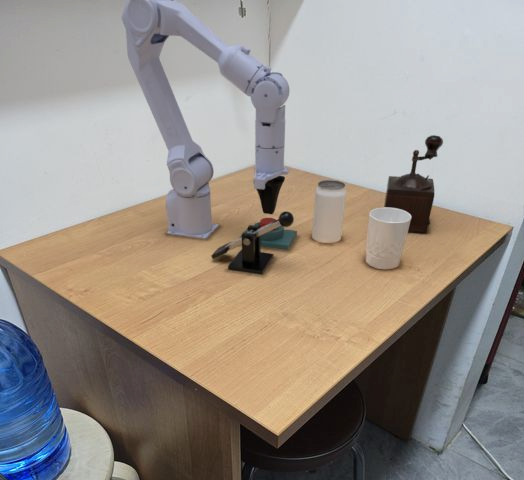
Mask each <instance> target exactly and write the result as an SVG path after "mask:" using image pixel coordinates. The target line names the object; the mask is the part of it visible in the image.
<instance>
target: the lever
mask: <svg viewBox="0 0 524 480" xmlns="http://www.w3.org/2000/svg"><path fill="white" fill-rule="evenodd" d="M294 220H295V217H294V215H293V214H292V213H291V212H290V211H282V212H281V213H280V214H279V215H278V219H276V221H274V222H272V223H270V224H268V225H266V226H263V227H261V228H259V229H257V230H255V231H254V230H249V231H248V233H252V234H255V239H256V238H257V237H259V236H261V235H263V234H265V233H267V232H269V231H271V230H273V229H275V228H277V227H279V226H281V225H282V226H283V227H284V228H289V227H291V226H292V225H293V223H294V222H295V221H294ZM240 246H242V237H241V238H240V237H238V238H237V239H234V240H232V241H229V242H227V243H225V244H223V245H221V246H219V247H217V249H216V250H215V251H214V252H213V253H212V254H211V255H210V256H211V258H212V260H215V259H216V258H219V257H221V256H223V255H225V254H227V253H228V252H230V251H231V250H233V249H236V248H238V247H240Z"/></svg>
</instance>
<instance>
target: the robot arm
mask: <svg viewBox="0 0 524 480" xmlns="http://www.w3.org/2000/svg"><path fill="white" fill-rule="evenodd" d="M121 21H122V24H123V26H124V28H125V35H126V36H125V39H126V51H127V57H128V62H129V63H130V66H131V68H132V70H133V73H134V75H135V77H136V79H137V82H138V84H139V87H140V88H141V90H142V93H143V96H144V98H145V100H146V103H147V104H148V107H149V109H150V112H151V114H152V117H153V119H154V121H155V123H156V125H157V126H156V127H158V130H159V133H160V135H161V137H162V139H163V141H164V144H165V146H166V148H167V151H168V152H167V157H166V158H167V159H166V166H167V169H168V172H169V182H170V185H171V188H172V189H170V190H169V191H168V193H167V194H166V199H165V210H166V211H165V212H166V219H167V228H168V229H167V231H166V234H168V235H174V236H180V237H187V238H194V239H195V238H196V239H202V240H206V239H208V238H209V237H210V236H211V235H212V233H214V232H215V231H216V229H217V228H219V223H214V222H213V219H212V218H213V217H212V199H211V197H212V196H211V187H210V182H211V180H212V179H213V177H214V172H215V171H214V166H213V163H212V162H211V160H210V159H209V158H208V157H207V156H206V155H205V153H204V151H203V149H202V147H201V146H200V144H198V143H196V142H195V141H194V140H193V138H192V135H191V133H190V130H189V128H188V126H187V123H186V121H185V118H184V116H183V114H182V111H181V109H180V106H179V104H178V101H177V99H176V97H175V94H174V91H173V89H172V87H171V84H170V82H169V79H168V77H167V74H166V72H165V69H164V67H163V65H162V62H161V60H160V56H161V53H162V51H163V47H164V45H165V42H166V41H167V40H168V38H169V37H170V36H174V37H181V38H183V39H184V40H185V41H187V42H188V43H190V44H191V45H192V46H193V47H195V48H197V49H198V50H199V51H201V52H202V53H204V54H205V55H206V56H208V57H209V58H210V59H211V60H213V61H215V62H216V63H217V65H218V69H219V73H220V75H221V76H222V77H223V78H225V79H226V80H227V81H228V82H230V83H231V84H232V85H233V86H235V87H236V88H237V89H238V90H240V91H241V92H242V93H243V94H245V95H246V96H247V97H250V101H251V105H253V107H254V109H255V121H254V124H255V125H254V127H255V128H254V129H255V131H254V135H255V139H254V140H255V141H254V142H255V143H254V152H255V153H254V158H255V159H254V163H255V165H254V168H253V171H254V172H253V173H254V177H253V189H255V190H256V192H257V194H258V197H259V201H260V206H261V209H262V213H263V214H264V215H265V214H266V215H273V214H274V213H275V210H276V207H277V203H278V199H279V194H280V191H281V189H282V186H283V184H284V182H285V181H286V177H285V176H287V175H289V174H290V168H286V167H285V145H286V144H285V143H286V142H285V141H286V140H285V139H286V137H285V136H286V102H287V101H288V98H289V96H290V85H289V82H288V80H287V79H286V78H285V77H284V76H283V74H282V73H281V72H278V71H271V70H272V67H271V66H269V64H266V65H264V64H263V63H262V62H261V61H259V60H258V59H257V58H255V57H254V56H253V55H252V54H251V49H250V48H249V47H248V46H247V45H243V46H241V45H240V44H233V45H230V46H229V45H228V44H227V43H226V42H224V41H223V40H222V39H221V38H220V37H219V36H218V35H216V34H215V33H214V32H213V30H211V29H210V28H208V26H206V24H205V23H203V22H202V21H201V20H200V19H199V18H198V17H196V15H194V14H193V13H192V12H191V11H190V10H189V9H187V7H186V6H185V5H184V4H183V3H181V2H180V1H178V0H126V2H125V5H124V8H123V10H122V14H121Z"/></svg>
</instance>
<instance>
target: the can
mask: <svg viewBox="0 0 524 480" xmlns="http://www.w3.org/2000/svg"><path fill="white" fill-rule="evenodd" d="M345 187H346V183H344V182H343V181H340V180H335V179H325V180H320V181H318V183H317V186H316V189H315V192H314V202H313V203H314V205H313V217H312V230H311V231H312V232H311V237H312V239H313V240H314V241H316V242H318V243H322V244H335V243H338V242H339V241H341V240H342V234H343V227H344V226H343V225H344V219H345V211H346V210H345V209H346V199H347V190H346V188H345Z"/></svg>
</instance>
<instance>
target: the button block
mask: <svg viewBox="0 0 524 480" xmlns="http://www.w3.org/2000/svg"><path fill="white" fill-rule="evenodd" d="M250 225H251V226H259V227H260V221H258V222H255V223H254V224H250ZM244 232H245V233H248V227H247V228H246V229H245V230H244ZM297 236H298V231H297V230H292V229H285V227H283V226H282V225H281V226H279V227H277V229H276V230H272V231H269V232H267V233H265V234H263V235H261V246H260V248H268V249H274V250H282V251H289V250H290V248H291V247H292V245H293V243H294V242H295V240H296V238H297ZM241 237H242V234H241V235H240V237H239V238H241Z"/></svg>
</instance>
